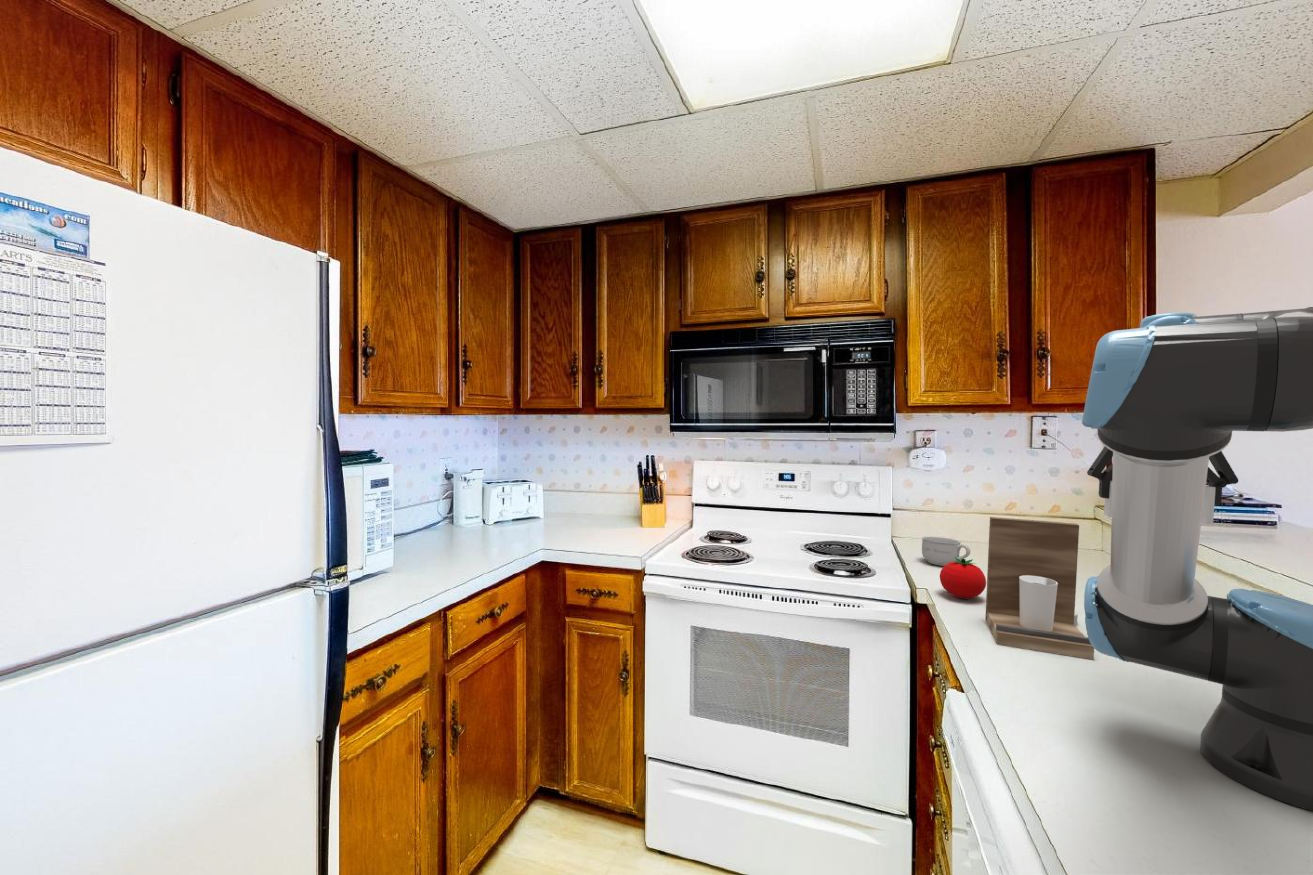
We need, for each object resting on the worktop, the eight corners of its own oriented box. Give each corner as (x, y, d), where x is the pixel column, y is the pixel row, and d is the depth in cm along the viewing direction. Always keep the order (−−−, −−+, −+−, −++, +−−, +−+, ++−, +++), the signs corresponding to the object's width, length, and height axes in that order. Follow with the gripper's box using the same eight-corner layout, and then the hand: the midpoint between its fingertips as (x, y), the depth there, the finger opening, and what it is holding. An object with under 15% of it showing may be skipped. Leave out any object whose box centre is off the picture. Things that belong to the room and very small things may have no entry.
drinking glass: (1063, 630, 111) (1065, 583, 110) (1041, 635, 108) (1044, 586, 108) (1030, 618, 117) (1032, 573, 116) (1009, 622, 114) (1011, 577, 114)
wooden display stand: (1093, 659, 103) (1100, 537, 102) (997, 644, 109) (1002, 529, 108) (1070, 631, 116) (1076, 523, 115) (985, 619, 122) (989, 516, 121)
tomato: (929, 592, 140) (931, 555, 140) (958, 588, 144) (960, 552, 143) (965, 606, 130) (966, 566, 130) (995, 601, 134) (996, 562, 134)
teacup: (913, 561, 170) (914, 536, 170) (936, 557, 175) (937, 533, 174) (953, 573, 157) (954, 546, 157) (977, 569, 162) (978, 543, 162)
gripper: (1244, 402, 94) (1236, 521, 95) (1071, 402, 103) (1065, 509, 104) (1273, 402, 87) (1263, 530, 88) (1084, 401, 96) (1078, 516, 98)
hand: (1156, 519), depth 96 cm, fingers open, 13 cm apart
